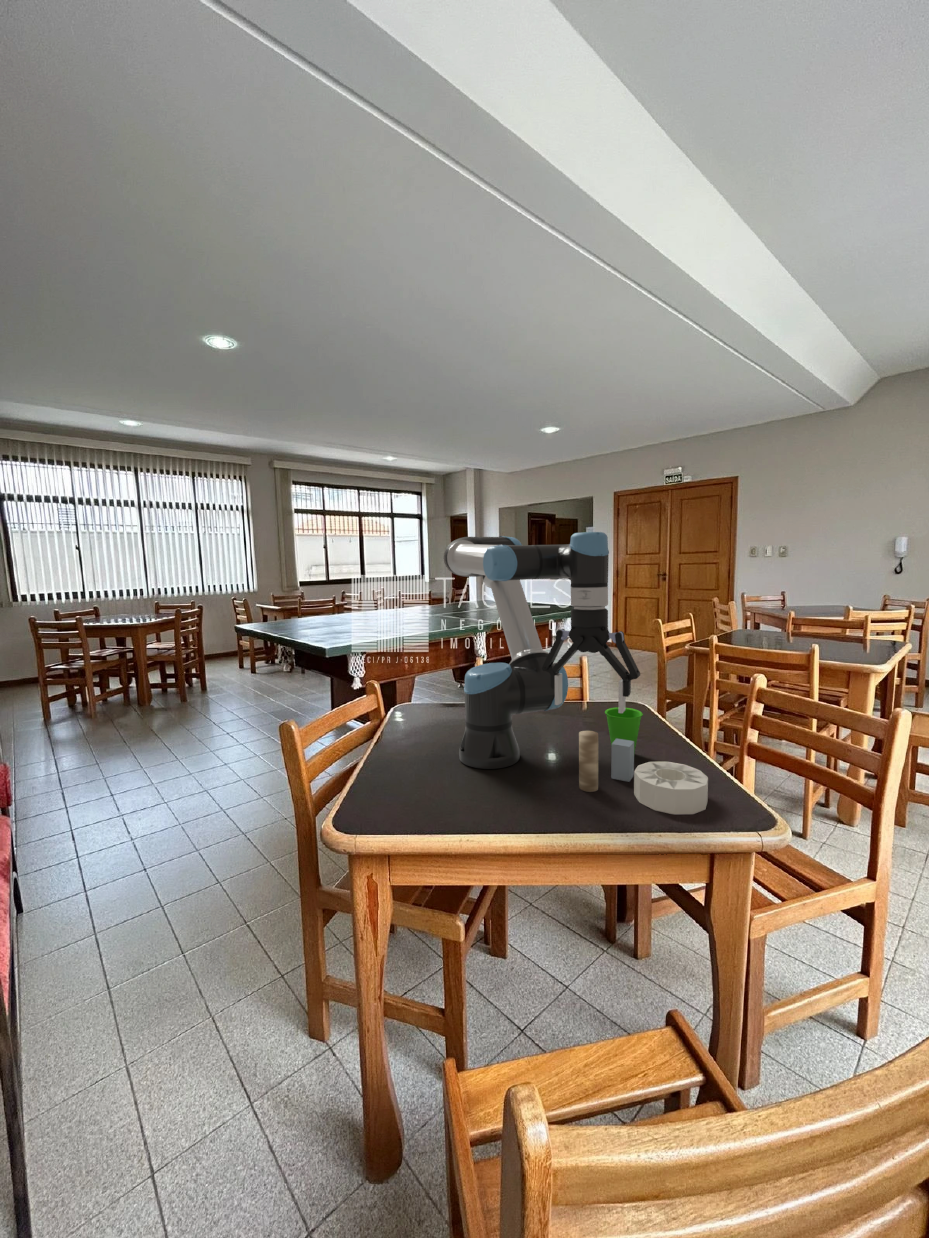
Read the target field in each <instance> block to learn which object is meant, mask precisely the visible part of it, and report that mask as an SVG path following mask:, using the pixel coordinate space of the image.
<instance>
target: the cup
mask: <svg viewBox="0 0 929 1238" xmlns="http://www.w3.org/2000/svg"><path fill="white" fill-rule="evenodd" d="M604 714H605V715H606V721H607V728H608V732H609V738H610V744H611V748H612V743H613V742H614V740H615V739H616V738H617V739H623V740H630V741H634V755H636V753H635V752H636V746H637V741H638V737H639V732H640V726H641V720H642V717H643V715H644V713H643V712H642V711H640V710H638V709H636V708H632V707H625V711H624V712H623V713H618V707H617V706H616V707H610V708H608V709H605V711H604Z"/></svg>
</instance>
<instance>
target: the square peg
mask: <svg viewBox="0 0 929 1238" xmlns="http://www.w3.org/2000/svg"><path fill="white" fill-rule="evenodd" d="M610 759H611V760H610V761H611V763H610V764H611V765H610V767H611V769H610V770H611V771H610V772H611V773H610V774H611V775H610V777H611V779H612V780H617V781H623V782H627V783H628V782H629V783H630V782H631V780H632V779H633V778H634V771H635V769H634V768H635V754H634V741H630V740H623V739H617V738H616V739H615V740H614V742H613V743H612V747H611V757H610Z"/></svg>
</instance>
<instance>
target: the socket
mask: <svg viewBox="0 0 929 1238" xmlns="http://www.w3.org/2000/svg"><path fill="white" fill-rule="evenodd" d="M708 787H709V777H708V776H707V775H706V774H705V773H704V772H702V770H700V769H698V768H695V767H692V766H690V765H687V764H683V763H677V762H671V761H648V762H645V763H642V764H639V765H637V767H636V768H635V769H634V776H633V796H634V797H635V798H636V800H637V802H639V803H640V804H642V805H643V806H645V807H648V808H650V809H651V810H653V811H656V812H661V813H664V814H665V813H666V814H670V815H695V814H697V813H700V812H704V811H705V810H706V808H707V805H708V799H709V798H708V797H709V796H708V795H709V792H708V790H709V789H708Z"/></svg>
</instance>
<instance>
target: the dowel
mask: <svg viewBox="0 0 929 1238" xmlns="http://www.w3.org/2000/svg"><path fill="white" fill-rule="evenodd" d="M578 788H579V789H580V790H581V791H584V792H586V793H587V792H589V793H593V792H597V791H598V790H599V733H598V732H597V731H593V730H582V731H579V732H578Z"/></svg>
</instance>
